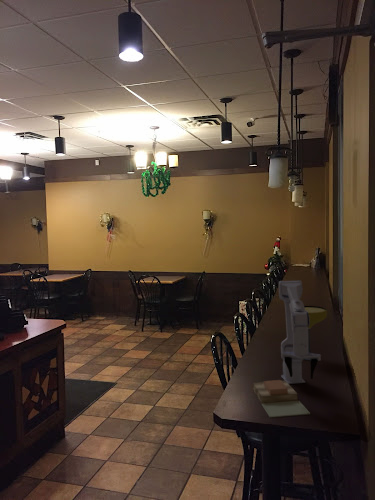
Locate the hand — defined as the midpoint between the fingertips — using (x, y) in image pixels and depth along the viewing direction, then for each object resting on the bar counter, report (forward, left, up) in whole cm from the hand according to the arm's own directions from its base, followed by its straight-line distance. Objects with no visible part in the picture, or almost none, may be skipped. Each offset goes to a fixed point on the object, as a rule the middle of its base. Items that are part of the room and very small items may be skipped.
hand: (301, 377), depth 161 cm
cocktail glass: (-50, +23, -10) cm, 56 cm away
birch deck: (-7, -9, -9) cm, 15 cm away
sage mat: (+6, -9, -9) cm, 14 cm away
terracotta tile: (-5, -9, -6) cm, 12 cm away
